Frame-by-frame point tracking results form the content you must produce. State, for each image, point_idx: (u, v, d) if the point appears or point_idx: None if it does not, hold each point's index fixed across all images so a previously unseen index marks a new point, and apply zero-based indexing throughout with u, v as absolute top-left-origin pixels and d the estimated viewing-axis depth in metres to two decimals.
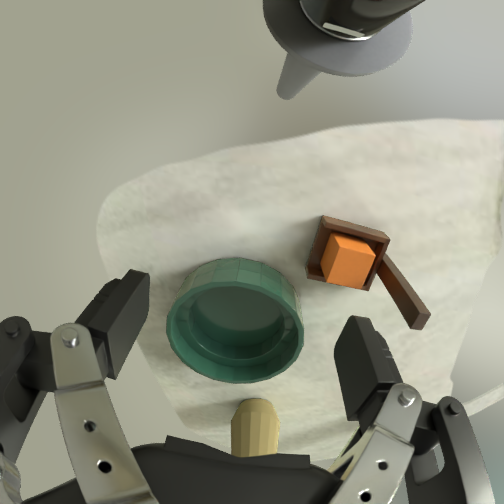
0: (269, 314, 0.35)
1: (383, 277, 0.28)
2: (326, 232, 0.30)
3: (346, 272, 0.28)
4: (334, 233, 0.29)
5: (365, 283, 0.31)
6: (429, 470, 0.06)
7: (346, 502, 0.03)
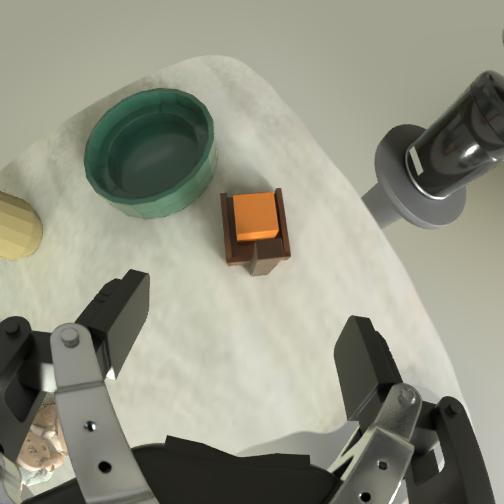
0: (161, 186, 0.32)
1: None
2: None
3: (249, 209, 0.28)
4: None
5: (233, 257, 0.30)
6: (429, 470, 0.06)
7: (346, 502, 0.03)
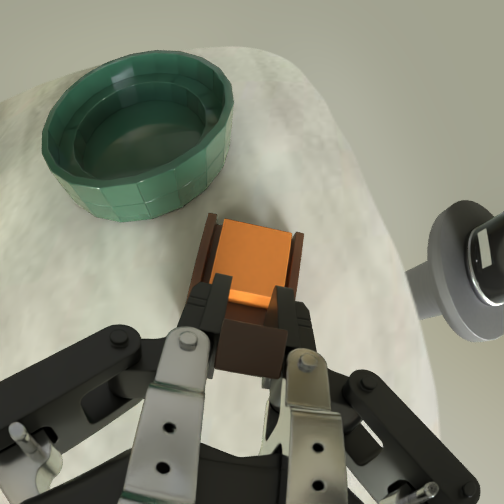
0: None
1: None
2: None
3: (244, 250, 0.16)
4: None
5: None
6: (365, 445, 0.07)
7: (302, 499, 0.04)
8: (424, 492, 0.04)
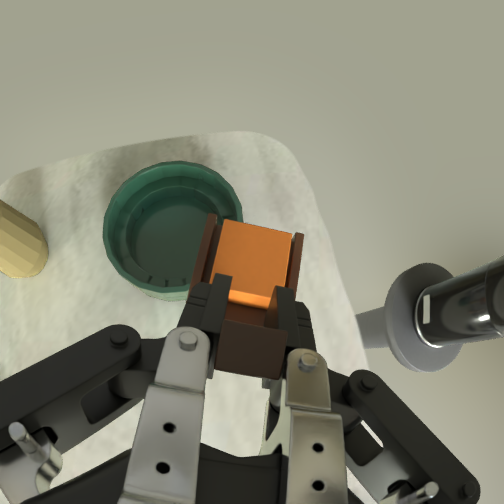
0: (173, 269, 0.33)
1: None
2: None
3: (244, 250, 0.16)
4: None
5: None
6: (365, 445, 0.07)
7: (302, 498, 0.04)
8: (424, 492, 0.04)
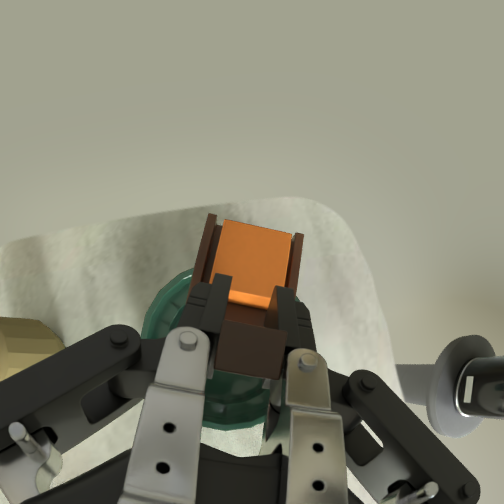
0: (226, 383, 0.27)
1: None
2: None
3: (244, 251, 0.16)
4: None
5: None
6: (365, 445, 0.07)
7: (302, 499, 0.04)
8: (424, 492, 0.04)
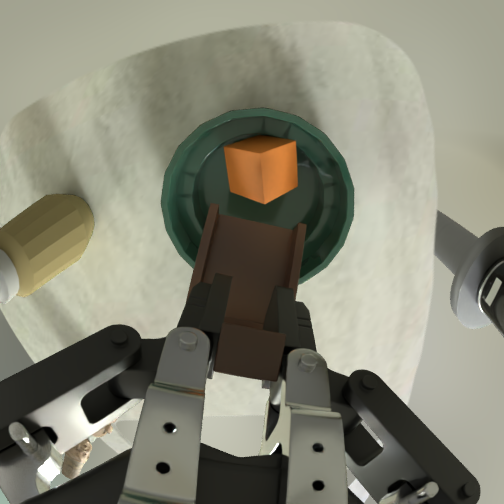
0: None
1: None
2: (278, 238, 0.21)
3: (257, 140, 0.22)
4: (296, 181, 0.23)
5: None
6: (365, 445, 0.07)
7: (302, 498, 0.04)
8: (424, 492, 0.04)
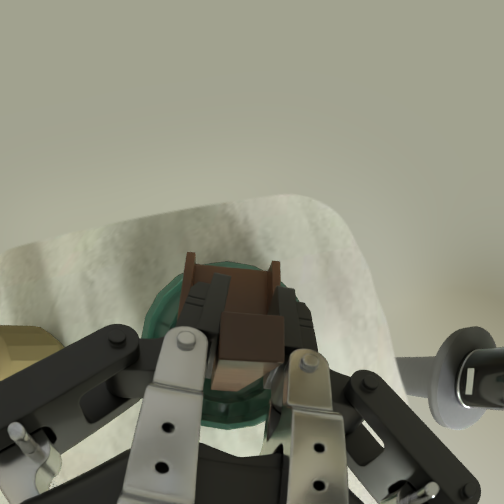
0: None
1: None
2: (254, 279, 0.21)
3: None
4: None
5: None
6: (366, 445, 0.07)
7: (303, 498, 0.04)
8: (425, 492, 0.04)
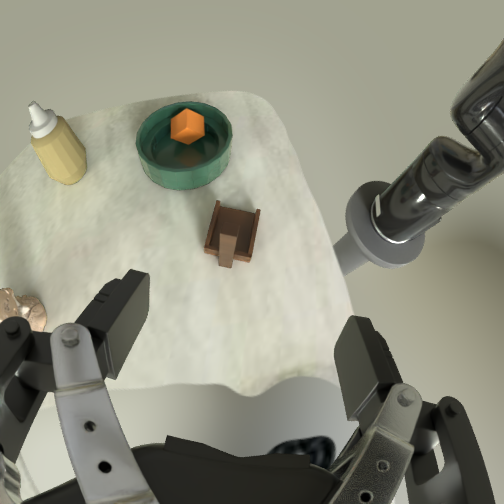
0: None
1: None
2: (248, 217, 0.43)
3: None
4: (203, 132, 0.44)
5: None
6: (429, 470, 0.06)
7: (346, 502, 0.03)
8: None
